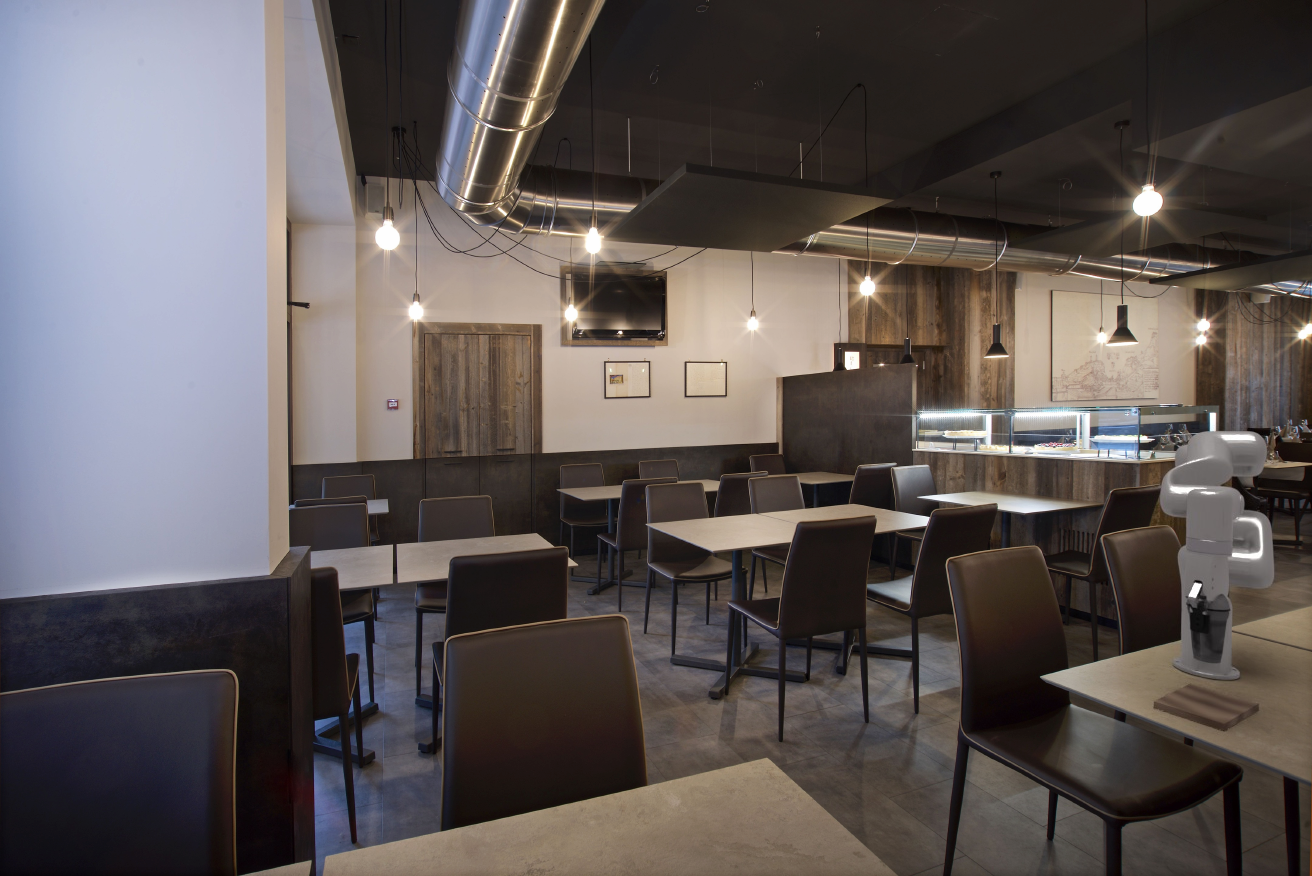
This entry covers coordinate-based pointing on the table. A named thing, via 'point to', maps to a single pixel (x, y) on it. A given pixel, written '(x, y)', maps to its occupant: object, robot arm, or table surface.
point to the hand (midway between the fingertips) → (1207, 628)
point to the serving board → (1207, 706)
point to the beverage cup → (1211, 632)
